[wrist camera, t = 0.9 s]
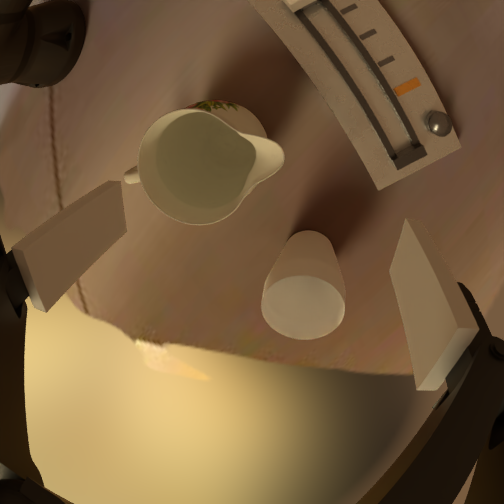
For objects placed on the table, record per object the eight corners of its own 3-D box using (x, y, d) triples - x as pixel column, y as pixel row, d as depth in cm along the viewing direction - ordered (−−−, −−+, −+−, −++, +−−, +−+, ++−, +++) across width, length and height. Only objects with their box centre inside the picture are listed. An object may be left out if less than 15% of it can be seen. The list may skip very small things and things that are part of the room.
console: (224, -24, 25) (213, -35, 21) (305, -69, 19) (303, -83, 16) (375, 185, 35) (381, 196, 31) (454, 144, 29) (468, 151, 26)
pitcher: (150, 118, 36) (82, 140, 24) (288, 85, 31) (270, 82, 19) (172, 194, 41) (117, 242, 29) (304, 174, 36) (296, 221, 24)
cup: (333, 214, 38) (337, 265, 28) (347, 273, 42) (352, 334, 31) (266, 229, 41) (247, 282, 31) (286, 284, 45) (273, 345, 34)
